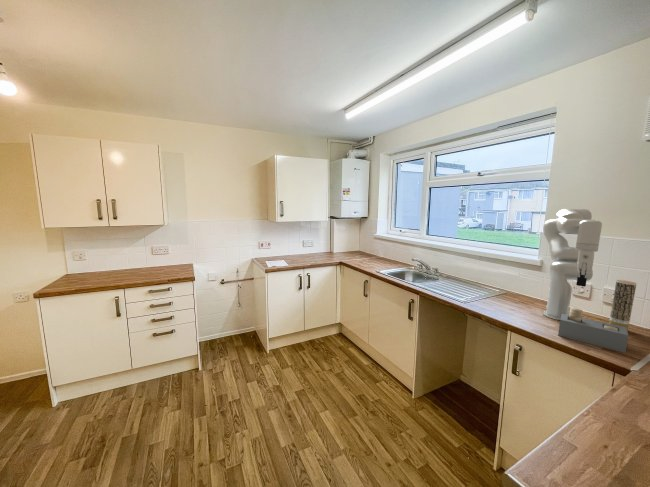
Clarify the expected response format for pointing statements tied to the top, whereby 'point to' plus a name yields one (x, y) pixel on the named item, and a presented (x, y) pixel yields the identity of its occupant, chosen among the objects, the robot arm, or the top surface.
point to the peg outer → (611, 328)
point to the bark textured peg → (622, 303)
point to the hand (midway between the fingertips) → (580, 285)
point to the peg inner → (575, 314)
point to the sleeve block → (594, 333)
